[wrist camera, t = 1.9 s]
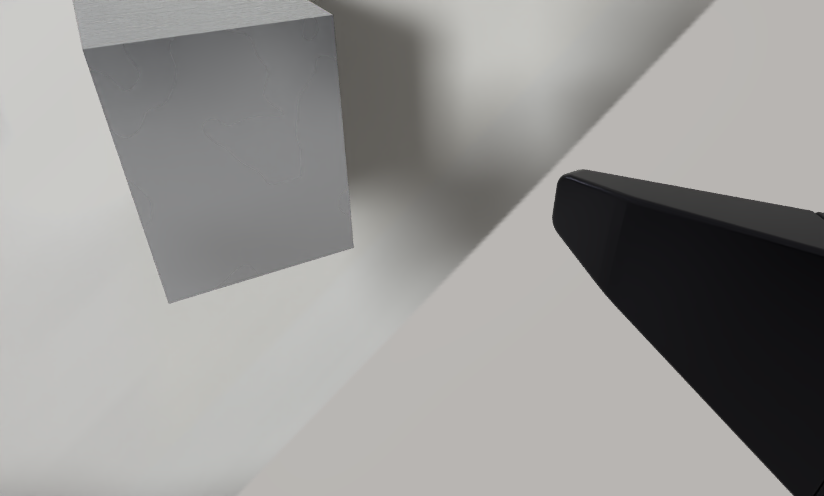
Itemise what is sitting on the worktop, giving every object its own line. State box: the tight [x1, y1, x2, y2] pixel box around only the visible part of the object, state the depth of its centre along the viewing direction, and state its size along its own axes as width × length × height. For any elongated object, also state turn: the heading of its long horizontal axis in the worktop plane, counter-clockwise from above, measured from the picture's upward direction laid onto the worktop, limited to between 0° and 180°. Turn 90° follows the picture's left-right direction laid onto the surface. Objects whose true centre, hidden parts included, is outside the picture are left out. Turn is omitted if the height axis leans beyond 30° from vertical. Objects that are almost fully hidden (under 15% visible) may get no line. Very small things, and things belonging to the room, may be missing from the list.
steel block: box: [72, 0, 354, 303], centre depth 13 cm, size 5×4×6 cm
